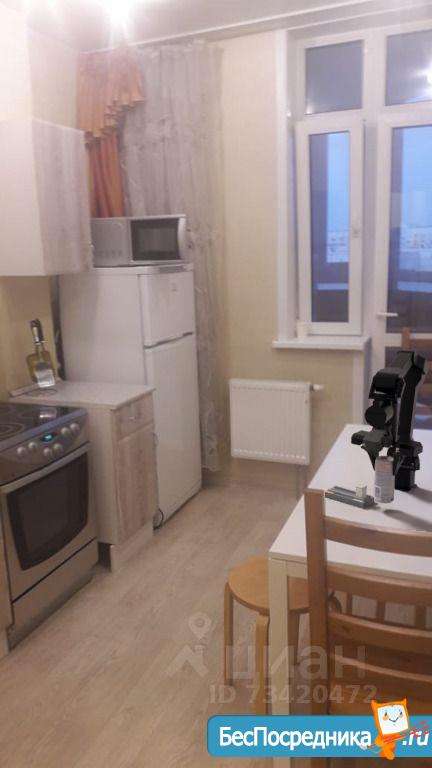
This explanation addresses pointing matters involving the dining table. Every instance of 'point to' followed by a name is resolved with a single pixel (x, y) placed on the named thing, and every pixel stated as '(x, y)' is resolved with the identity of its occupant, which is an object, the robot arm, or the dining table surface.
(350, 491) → the switch plate
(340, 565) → the dining table surface
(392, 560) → the dining table surface
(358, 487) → the switch knob
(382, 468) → the energy drink
